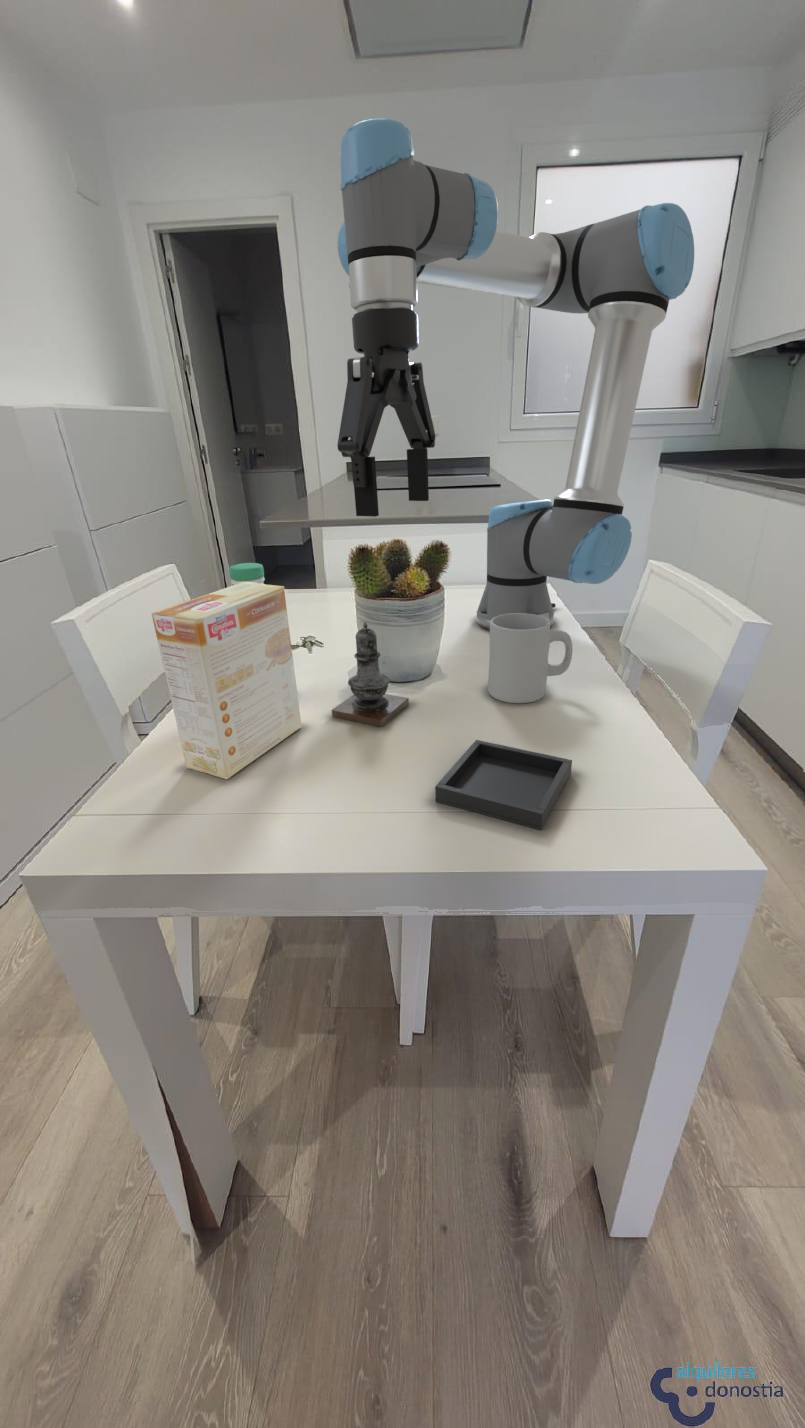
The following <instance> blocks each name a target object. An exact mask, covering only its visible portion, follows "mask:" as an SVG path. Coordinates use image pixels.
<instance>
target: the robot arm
mask: <svg viewBox="0 0 805 1428" xmlns="http://www.w3.org/2000/svg"><path fill="white" fill-rule="evenodd" d="M414 156H415V149H414V147H413V137H412V133H411V131H410V129H409V128H408V127H406V125H405V124H403V122H401V121H399V120H396V119H390V118H370V119H366V120H362V121H358V122H357V123H354V125H352V126H351V127H349V128H348V129H346V131H345V132H344V133H343V135H342V137H341V141H340V158H339V159H340V162H339V163H340V191H341V196H342V197H341V198H342V208H343V219H344V220H343V221H344V222H343V223H342V224H341V226H340V228H339V232H338V236H337V253H338V259H339V261H340V264H341V266H342V268H343V270H344V272H345V273H346V274H347V276H348V277H349V282H348V288H349V293H350V306H351V308H352V309H353V310H354V311H356V313H353V317H352V318H351V326H352V328H351V329H352V339H353V348H354V351H355V352H356V353H358V354H361V355H363V356H359V357H351V358H348V359H347V361H346V364H347V365H346V369H347V371H346V374H347V382H346V389H345V396H344V401H343V408H342V414H341V420H340V425H339V431H338V439H337V451H338V452H340V453H341V456H342V457H343V458H350V463H351V474H352V484H353V492H354V505H355V515H356V517H375V518H376V517H379V515H380V513H379V497H378V482H377V468H376V467H377V466H376V457H375V456H370V455H371V452H372V449H373V446H374V443H375V439H376V436H377V433H378V430H379V428H380V427H379V426H380V424H381V421H382V418H383V414H384V411H385V408H386V407H388V406H390V407H391V408H393V409H394V411H395V414H396V416H397V418H398V421H399V423H400V425H401V428H402V430H403V433H404V435H405V438H406V439H407V442H408V445H409V446H410V448H408V449H407V448H406V464H407V465H406V466H407V468H406V469H407V488H408V490H407V491H408V502H428V501H430V497H429V492H430V491H429V465H428V464H429V459H428V449H433V448H435V446H436V437H437V436H436V431H435V427H434V423H433V422H434V421H433V418H432V414H431V409H430V405H429V401H428V396H427V391H426V387H425V382H424V370H423V363H422V362H421V361H415V362H410V359H409V354H410V352H413V351H415V350H417V348H418V347H419V346H420V345H419V344H420V342H419V341H420V340H419V315H418V313H417V311H416V310H414V307H416V306H417V304H418V303H419V300H418V284H423V285H431V286H437V287H445V288H452V289H458V290H465V291H472V292H479V293H486V294H494V295H500V296H507V297H515V298H516V299H517V300H518V302H519V303H521V304H522V305H523V306H525V307H529V308H537V309H541V310H542V309H543V310H548V311H554V312H560V313H567V314H587V318H588V319H589V321H590V322H591V324H592V326H593V327H594V334H593V339H592V344H591V349H590V355H589V360H588V366H587V371H586V376H585V381H584V387H583V393H582V397H581V402H580V408H579V412H578V418H577V423H576V430H575V434H574V440H573V445H572V450H571V455H570V459H569V466H568V471H567V476H566V482H565V487H564V488H563V490H562V491H560V492H559V493H558V494H556V496H554V498H553V502H552V500H551V499H538V500H529V501H528V500H527V501H521V502H520V501H519V502H511V503H503V504H499V505H495V506H493V507H492V508H491V509H490V511H489V513H488V523H487V528H486V533H487V534H486V535H487V537H486V538H487V539H486V583H485V588H484V590H483V593H482V596H481V599H480V602H479V604H478V607H477V610H476V623H477V624H478V625H479V626H480V627H482V628H484V629H487V630H490V622H491V620H492V619H493V618H494V617H496V616H499V615H503V614H510V613H527V614H534V615H539V616H542V617H545V618H547V619H548V620H549V621H550V627H551V626H552V625H553V624H554V615H555V613H554V608H556V603H554V602H552V601H551V597H550V592H549V588H548V583H547V582H548V581H547V580H548V578H549V577H550V578H553V579H558V580H559V579H560V580H564V581H569V582H572V583H574V584H588V585H599V584H602V583H604V582H606V581H609V580H610V579H611V578H612V577H613V576H614V575H615V573H617V572H618V571H619V570H620V568H621V567H622V565H623V563H624V562H625V560H626V558H627V556H628V553H629V551H630V547H631V543H632V537H633V533H632V531H631V529H632V525H631V522H630V520H629V519H628V518H627V517H625V516H624V515H623V511H624V508H625V504H624V503H623V501H622V499H621V498H620V496H619V494H618V491H619V486H620V482H621V477H622V472H623V468H624V463H625V459H626V453H627V449H628V445H629V440H630V435H631V431H632V427H633V426H632V425H633V421H634V417H635V412H636V407H637V404H638V403H637V402H638V398H639V394H640V388H641V384H642V380H643V376H644V370H645V366H646V360H647V357H648V352H649V347H650V343H651V338H652V334H653V331H654V330H655V329H656V328H657V327H658V326H659V325H660V324H662V323H663V322H664V321H665V319H666V316H667V313H668V309H669V308H668V307H669V303H670V301H671V300H676V299H677V298H678V297H680V296H681V295H683V293H685V291H686V289H687V288H688V286H689V284H690V282H691V279H692V276H693V271H694V266H695V265H694V263H695V239H694V234H693V230H692V225H691V222H690V219H689V217H688V215H687V214H686V212H685V210H684V209H683V208H682V207H681V206H680V205H679V204H676V203H674V202H670V201H669V202H668V201H667V202H666V201H665V202H662V203H657V204H653V205H644V206H643V207H641V208H640V209H637V210H633V211H630V212H628V213H624V214H621V215H617V216H615V217H611V218H609V219H604V220H601V221H597V222H595V223H591V224H587V225H584V226H581V227H578V228H575V229H571V230H568V231H564V232H559V233H549V232H545V231H541V232H536V233H534V234H532V235H530V236H525V235H520V234H515V233H510V232H507V231H502V230H498V225H499V203H498V198H497V196H496V192H495V191H494V189H493V187H492V186H491V185H490V184H489V183H488V182H487V181H485V180H483V179H481V178H478V177H474V176H472V175H471V173H468V172H464V173H462V172H458V171H453V170H449V169H445V168H442V167H441V168H440V167H436V166H431V165H427V164H425V163H422V162H421V161H417V160H415V159H414Z"/></svg>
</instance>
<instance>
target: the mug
mask: <svg viewBox="0 0 805 1428" xmlns="http://www.w3.org/2000/svg"><path fill="white" fill-rule="evenodd" d="M554 642H562V643H563V645H564V648H565V650H564V652H565V653H564V657H563V660H562V661H561V663H559V664H550V663H549V651H550V644H552V643H554ZM572 658H573V642H572V638H571V636H570V634H569V633H567V632H566V631H564V630H561V629H551V626H550V621H549V620H548V619H547V618H545V617H542V616H539V615H534V614H527V613H510V614H503V615H499V616H496V617H494V618H493V619H492V620H491V622H490V629H489V649H488V675H487V692H488V694H489V695H490V697H492V698H493V699H495V700H497V701H501V702H504V703H510V704H529V703H534V702H537V701H539V700H541V699H543V697H544V696H545V694H546V691H547V680H548V679H547V678H548V677H554V676H555V677H556V676H560V675H563V674H564V673H566V672H567V670H568V669H569V667H570V665H571V662H572Z"/></svg>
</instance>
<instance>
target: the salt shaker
mask: <svg viewBox="0 0 805 1428" xmlns="http://www.w3.org/2000/svg"><path fill="white" fill-rule="evenodd" d="M368 626H369V624H368V623H367V622H366V621H365V622H364V623H363V625H362V628H360V629H359V630H358V631H357V632H356V634H355V646H356V653H355V654H354V655H353V656H354V658H355V659H356V667H357V670H356V674H355V675H353V676H351V677H350V678H349V679H348V680H347V685H348V686H349V687H350V691H351V692H352V694H353V695H355V696H356V697H357V699H355V700H354V701H353V702H352V707H353V708H354V709H356V710H358V711H363V712H374V711H379V710H382V709H384V708H386V707H387V706H388V705H389V701H388V700H387V699H386V698H384V697H382V696H383V695H384V694H387V690H388V687H389V684H390V682H391V678H390V677H389V676H387V675H386V674H383V673H381V670H380V666H379V658H380V657H381V653H380V652H379V651H378V639H377V638H378V637H377V632H376V631H375V630H374V629H372V628H369V627H368Z"/></svg>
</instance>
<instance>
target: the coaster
mask: <svg viewBox="0 0 805 1428" xmlns="http://www.w3.org/2000/svg"><path fill="white" fill-rule="evenodd" d="M382 697H384V698H386V699H387V700H388V701H389V705H388V706H387V707H386V708H384V709H382V710H379V711H374V712H363V711H358V710H356V709H354V708H353V707H352V702H353V701H354V700H355V699H357V697H356V696H355V695H354V694H353V695H351V696H350V697H348V698H347V699H346V700H344V701H343V702H341V703H340V704H339V705H337V706H335V707H334V708H332V709H331V716H332V717H334V718H339V719H342V720H348V721H352V722H357V723H360V724H365V725H369V726H375V727H380V728H382V727H383V726H384V725H386V724H387V723H388V722H389V721H391V719H394V717H395V716H397V715H398V714H399V713H400V712H401V711H403V710H404V709H405V708H406V707H407V706H409V704H410V703H409V697H405V696H398V695H393V694H388V693H385V694H384V695H383V696H382Z"/></svg>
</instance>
